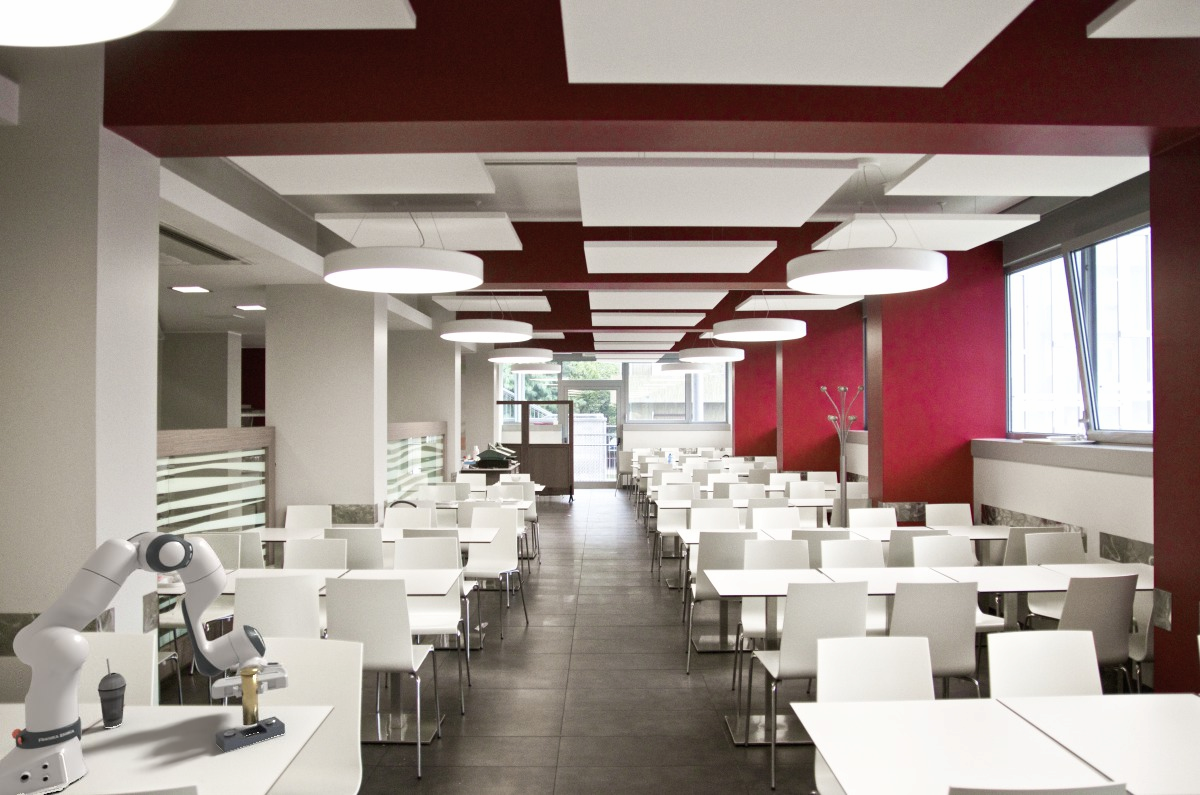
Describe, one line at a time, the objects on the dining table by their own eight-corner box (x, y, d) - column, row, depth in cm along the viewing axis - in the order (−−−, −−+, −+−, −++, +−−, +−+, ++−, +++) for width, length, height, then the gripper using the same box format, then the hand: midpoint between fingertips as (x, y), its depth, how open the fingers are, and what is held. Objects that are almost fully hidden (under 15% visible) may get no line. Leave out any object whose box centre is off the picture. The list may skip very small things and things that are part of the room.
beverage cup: (117, 730, 227) (115, 662, 227) (92, 731, 227) (91, 662, 227) (132, 720, 234) (131, 654, 234) (109, 721, 234) (107, 655, 235)
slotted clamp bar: (224, 752, 208) (224, 739, 208) (215, 744, 214) (215, 731, 214) (285, 734, 219) (284, 721, 219) (275, 726, 225) (274, 714, 225)
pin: (244, 727, 213) (242, 673, 214) (239, 722, 217) (237, 669, 217) (262, 722, 217) (260, 668, 217) (256, 717, 220) (255, 665, 220)
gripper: (212, 672, 225) (207, 688, 212) (288, 661, 233) (288, 675, 220) (213, 694, 225) (208, 711, 212) (288, 682, 233) (288, 697, 220)
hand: (249, 692), depth 216 cm, fingers closed on pin, 4 cm apart
